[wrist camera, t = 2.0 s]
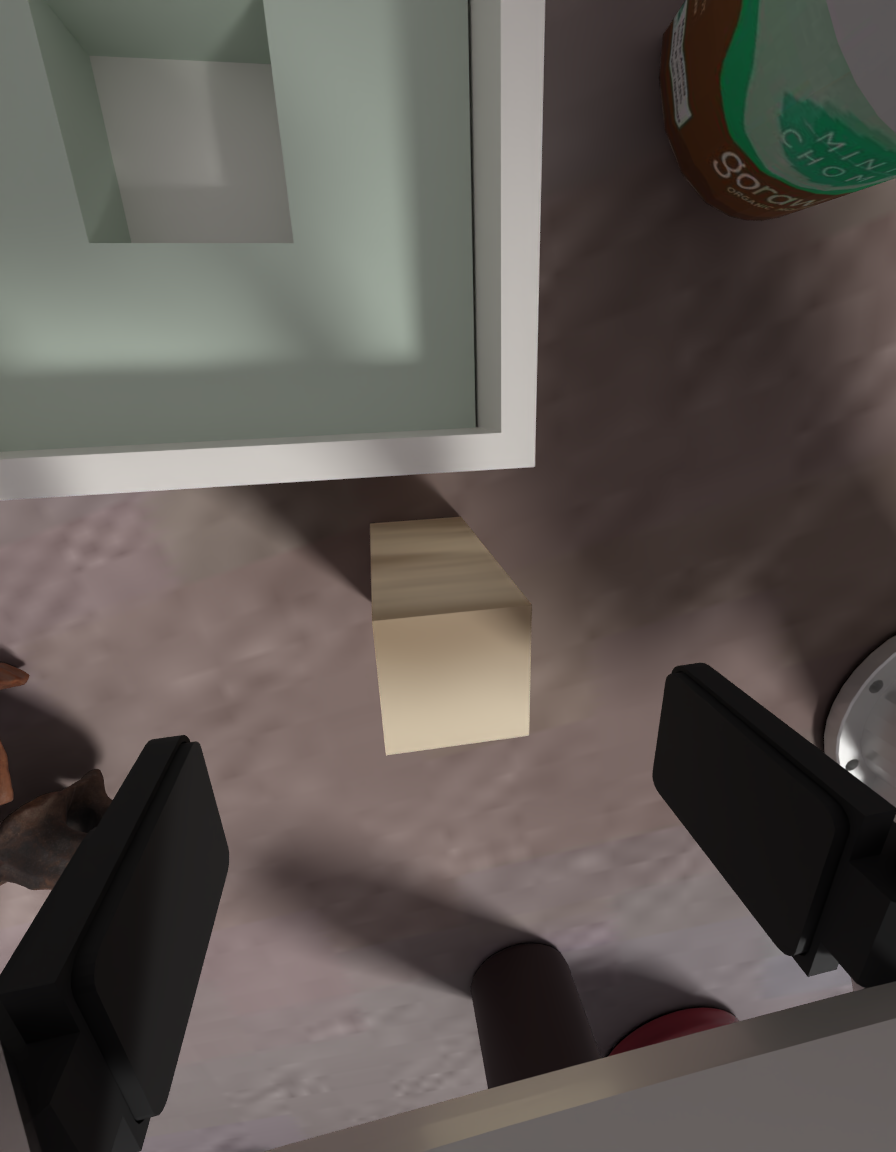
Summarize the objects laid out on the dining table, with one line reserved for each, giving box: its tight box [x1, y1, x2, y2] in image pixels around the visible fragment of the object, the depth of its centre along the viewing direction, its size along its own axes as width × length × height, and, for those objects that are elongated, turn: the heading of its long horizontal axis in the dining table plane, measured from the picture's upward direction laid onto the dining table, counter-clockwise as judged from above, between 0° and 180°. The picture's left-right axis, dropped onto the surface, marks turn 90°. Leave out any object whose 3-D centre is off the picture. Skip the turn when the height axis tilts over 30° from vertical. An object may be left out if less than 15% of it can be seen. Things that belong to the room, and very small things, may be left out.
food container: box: [659, 0, 896, 221], centre depth 14 cm, size 12×6×10 cm, turn 87°
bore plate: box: [0, 0, 476, 452], centre depth 14 cm, size 16×16×3 cm
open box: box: [0, 0, 545, 500], centre depth 13 cm, size 18×18×7 cm
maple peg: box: [370, 517, 532, 755], centre depth 17 cm, size 4×4×10 cm
